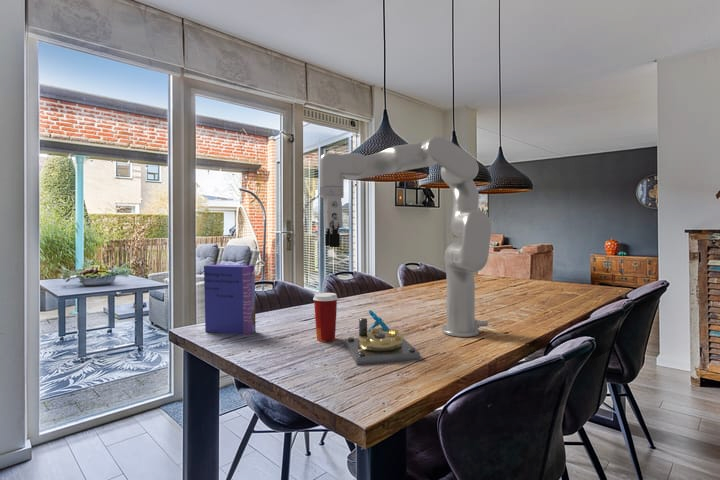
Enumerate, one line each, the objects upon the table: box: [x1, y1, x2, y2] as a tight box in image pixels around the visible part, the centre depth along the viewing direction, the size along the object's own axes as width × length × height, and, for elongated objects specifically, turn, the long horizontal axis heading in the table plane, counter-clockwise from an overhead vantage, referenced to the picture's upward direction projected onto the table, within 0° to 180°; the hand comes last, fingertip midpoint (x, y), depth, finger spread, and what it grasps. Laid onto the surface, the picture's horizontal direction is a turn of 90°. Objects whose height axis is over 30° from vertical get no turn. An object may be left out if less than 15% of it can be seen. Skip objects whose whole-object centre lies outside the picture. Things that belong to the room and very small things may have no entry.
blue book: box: [203, 264, 257, 336], centre depth 142 cm, size 17×5×24 cm, turn 74°
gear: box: [368, 310, 391, 332], centre depth 141 cm, size 11×6×10 cm
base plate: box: [344, 337, 421, 365], centre depth 118 cm, size 18×18×3 cm
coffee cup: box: [312, 292, 339, 343], centre depth 131 cm, size 8×8×15 cm
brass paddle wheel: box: [357, 317, 404, 351], centre depth 117 cm, size 13×13×7 cm
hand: (332, 246), depth 128 cm, fingers open, 9 cm apart
